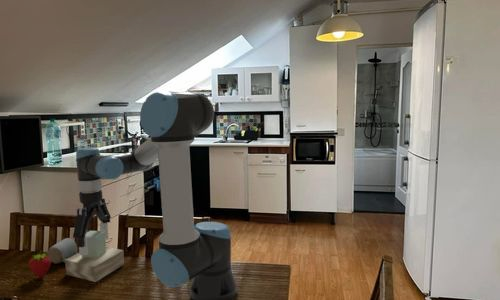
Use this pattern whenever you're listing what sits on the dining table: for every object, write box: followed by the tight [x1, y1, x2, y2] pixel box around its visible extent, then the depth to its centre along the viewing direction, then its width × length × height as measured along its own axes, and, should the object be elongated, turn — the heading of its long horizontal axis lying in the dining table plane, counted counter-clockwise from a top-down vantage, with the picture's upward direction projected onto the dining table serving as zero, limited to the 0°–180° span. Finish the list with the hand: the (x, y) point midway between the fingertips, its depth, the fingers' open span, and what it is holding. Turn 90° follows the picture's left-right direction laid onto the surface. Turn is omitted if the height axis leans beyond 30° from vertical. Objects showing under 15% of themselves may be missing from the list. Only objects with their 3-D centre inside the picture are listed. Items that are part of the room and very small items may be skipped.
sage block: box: [82, 230, 107, 259], centre depth 126 cm, size 6×6×8 cm
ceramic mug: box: [47, 237, 79, 265], centre depth 133 cm, size 11×8×8 cm
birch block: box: [64, 246, 125, 283], centre depth 127 cm, size 14×14×6 cm
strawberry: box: [28, 251, 52, 279], centre depth 120 cm, size 6×8×10 cm
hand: (94, 246), depth 126 cm, fingers open, 13 cm apart
